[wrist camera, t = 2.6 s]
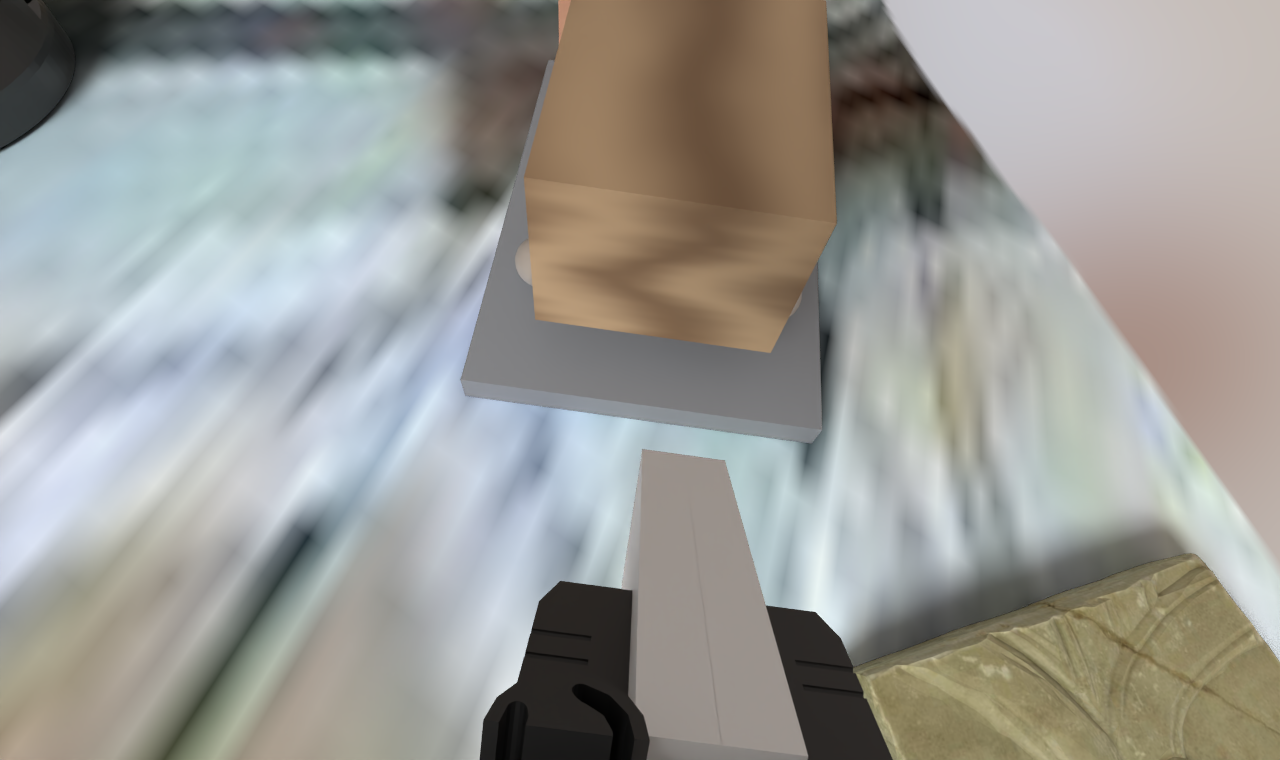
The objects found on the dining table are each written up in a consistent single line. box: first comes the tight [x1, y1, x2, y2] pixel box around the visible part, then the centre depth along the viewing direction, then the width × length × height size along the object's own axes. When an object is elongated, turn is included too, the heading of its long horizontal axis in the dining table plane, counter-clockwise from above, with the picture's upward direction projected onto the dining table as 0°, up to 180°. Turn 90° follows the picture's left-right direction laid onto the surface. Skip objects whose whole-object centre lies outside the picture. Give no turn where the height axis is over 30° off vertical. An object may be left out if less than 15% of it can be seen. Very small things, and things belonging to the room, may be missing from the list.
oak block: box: [515, 0, 837, 353], centre depth 29 cm, size 13×12×10 cm
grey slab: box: [461, 0, 822, 443], centre depth 33 cm, size 16×22×6 cm
